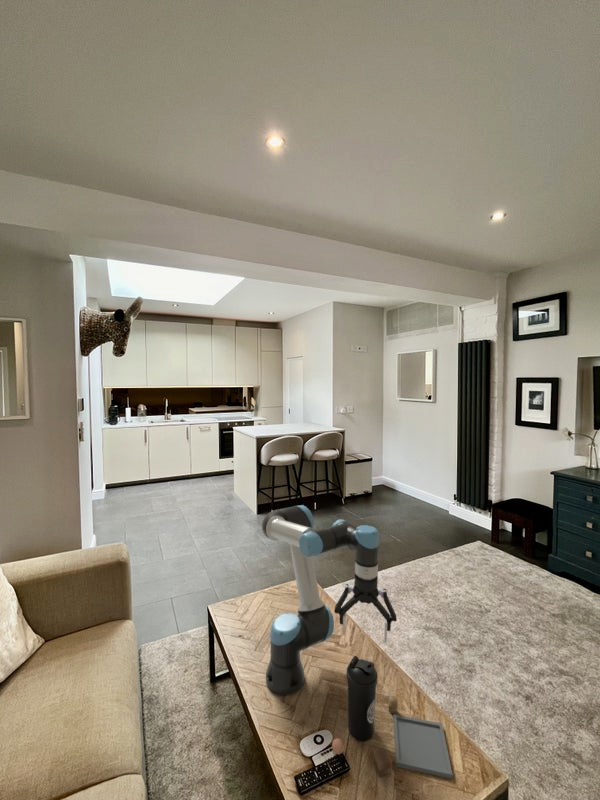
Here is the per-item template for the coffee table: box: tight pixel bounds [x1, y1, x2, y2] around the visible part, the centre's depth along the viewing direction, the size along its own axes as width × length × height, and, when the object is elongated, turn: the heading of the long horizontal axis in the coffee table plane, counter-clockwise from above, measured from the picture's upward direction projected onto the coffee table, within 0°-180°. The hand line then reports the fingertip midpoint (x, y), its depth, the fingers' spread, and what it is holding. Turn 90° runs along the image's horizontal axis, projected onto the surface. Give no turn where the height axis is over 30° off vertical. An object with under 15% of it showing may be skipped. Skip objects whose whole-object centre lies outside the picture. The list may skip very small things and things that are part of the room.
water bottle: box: [346, 655, 378, 743], centre depth 117 cm, size 10×10×23 cm
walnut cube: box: [374, 748, 393, 778], centre depth 105 cm, size 4×4×4 cm
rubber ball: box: [331, 737, 344, 755], centre depth 110 cm, size 4×4×4 cm
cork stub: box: [388, 695, 399, 716], centre depth 124 cm, size 3×3×4 cm
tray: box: [392, 714, 454, 780], centre depth 112 cm, size 16×16×1 cm
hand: (364, 636), depth 116 cm, fingers open, 13 cm apart
